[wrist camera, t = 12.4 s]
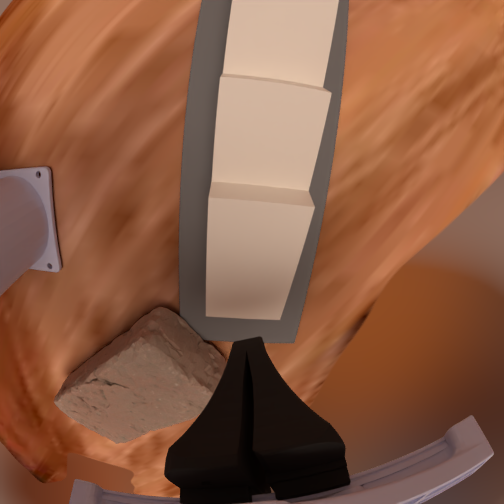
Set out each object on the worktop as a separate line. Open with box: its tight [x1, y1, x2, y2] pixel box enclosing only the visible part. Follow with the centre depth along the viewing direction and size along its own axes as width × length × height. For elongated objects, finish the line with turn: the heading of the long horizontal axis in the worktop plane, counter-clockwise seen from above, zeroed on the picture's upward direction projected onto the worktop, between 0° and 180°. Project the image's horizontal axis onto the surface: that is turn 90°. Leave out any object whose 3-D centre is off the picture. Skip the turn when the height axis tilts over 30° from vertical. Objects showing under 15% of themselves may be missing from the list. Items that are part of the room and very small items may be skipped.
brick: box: [54, 307, 227, 444], centre depth 21 cm, size 17×8×5 cm, turn 128°
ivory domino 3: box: [206, 181, 315, 320], centre depth 17 cm, size 5×2×9 cm
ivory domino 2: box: [212, 74, 332, 191], centre depth 14 cm, size 5×2×9 cm
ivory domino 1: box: [223, 0, 339, 87], centre depth 12 cm, size 5×2×9 cm
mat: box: [179, 0, 349, 343], centre depth 16 cm, size 9×28×1 cm, turn 174°
